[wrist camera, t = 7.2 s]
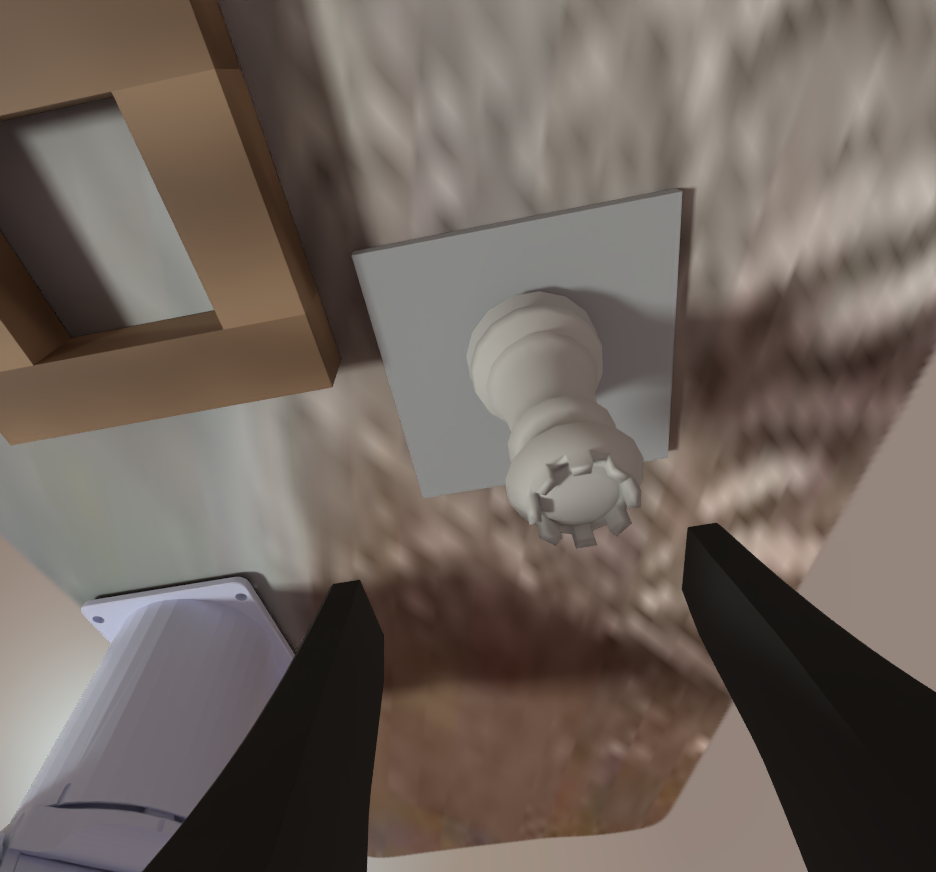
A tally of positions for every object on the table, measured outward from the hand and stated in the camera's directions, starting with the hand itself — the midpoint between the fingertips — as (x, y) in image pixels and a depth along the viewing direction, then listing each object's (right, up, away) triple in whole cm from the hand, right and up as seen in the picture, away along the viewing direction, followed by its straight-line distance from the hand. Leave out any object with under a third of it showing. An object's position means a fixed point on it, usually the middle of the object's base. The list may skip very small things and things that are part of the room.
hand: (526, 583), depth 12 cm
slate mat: (+1, +6, +7) cm, 9 cm away
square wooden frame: (-12, +9, +4) cm, 16 cm away
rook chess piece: (+1, +6, +7) cm, 9 cm away
